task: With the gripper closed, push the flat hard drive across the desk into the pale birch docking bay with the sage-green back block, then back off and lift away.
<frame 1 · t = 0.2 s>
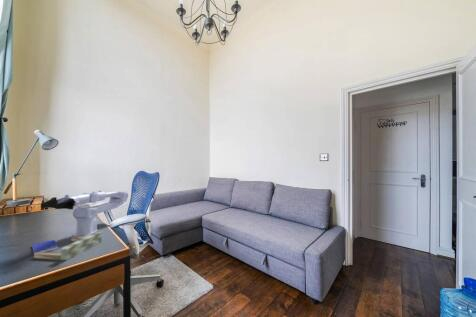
hand: (48, 206, 93), 21 cm above the table, tool horizontal, fingers open, 7 cm apart
dock: (68, 248, 95), on the table
hard drive: (45, 249, 96), on the table
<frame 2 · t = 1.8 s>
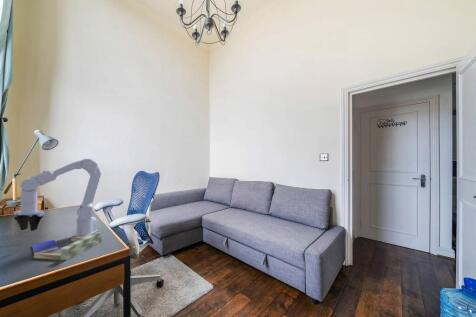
hand: (28, 229, 97), 8 cm above the table, tool pointing down, fingers open, 5 cm apart
nothing on the table moved.
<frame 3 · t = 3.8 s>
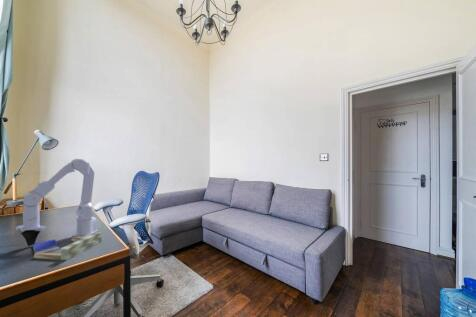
hand: (31, 244, 97), 1 cm above the table, tool pointing down, fingers closed
hard drive: (45, 248, 96), on the table, touching gripper
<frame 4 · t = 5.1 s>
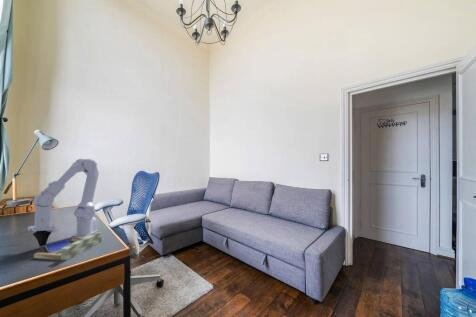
hand: (42, 245, 96), 1 cm above the table, tool pointing down, fingers closed
hard drive: (59, 248, 96), on the table, touching gripper
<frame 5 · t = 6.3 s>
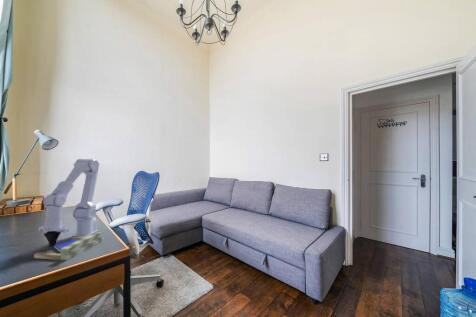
hand: (53, 246, 95), 1 cm above the table, tool pointing down, fingers closed, pressing on hard drive
hard drive: (68, 248, 96), on the table, touching dock, gripper
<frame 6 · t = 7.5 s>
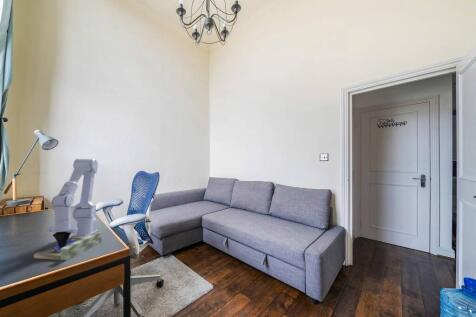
hand: (62, 246, 95), 1 cm above the table, tool pointing down, fingers closed, pressing on hard drive
hard drive: (68, 249, 96), on the table, touching gripper
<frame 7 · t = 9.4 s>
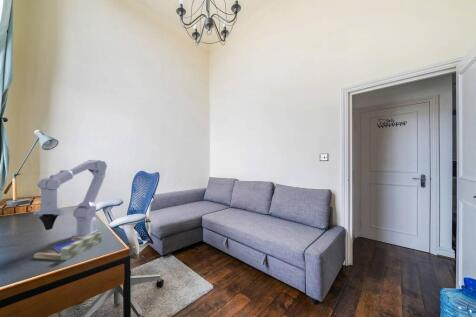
hand: (49, 229, 96), 9 cm above the table, tool pointing down, fingers closed
hard drive: (68, 249, 96), on the table
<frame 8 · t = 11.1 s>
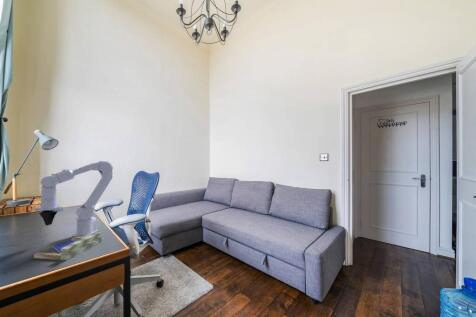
hand: (48, 224, 101), 9 cm above the table, tool pointing down, fingers closed
nothing on the table moved.
at the end: hard drive inside the target area (1.8 cm from its centre), on the table; hard drive moved 11.7 cm from its start; the gripper is holding nothing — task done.
